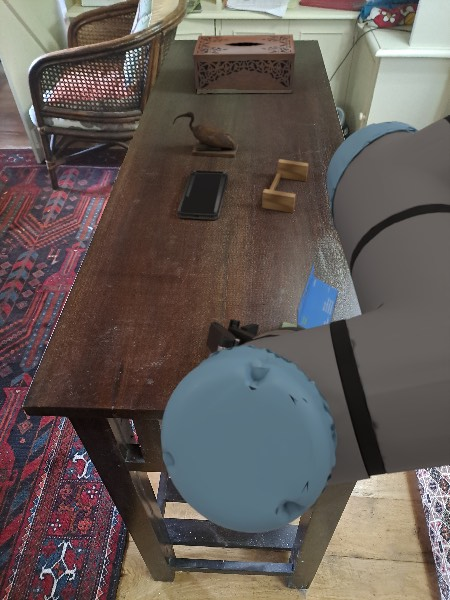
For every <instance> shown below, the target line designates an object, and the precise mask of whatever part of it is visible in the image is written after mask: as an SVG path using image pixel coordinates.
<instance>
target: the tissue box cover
mask: <svg viewBox="0 0 450 600" xmlns="http://www.w3.org/2000/svg"><path fill="white" fill-rule="evenodd" d="M192 54H193V55H192V57H193V58H192V59H193V70H194V84H195V90H196V89H201V90H203V89H206V90H208V89H210V90H212V89H236V90H292V91H293V85H294V73H295V61H296V50H295V41H294V34H290V33H289V34H288V33H287V34H229V35H228V34H227V35H226V34H224V35H221V34H219V35H198V37H197V41H196V44H195V47H194V50H193V53H192Z"/></svg>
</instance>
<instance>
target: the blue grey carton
mask: <svg viewBox="0 0 450 600" xmlns="http://www.w3.org/2000/svg"><path fill="white" fill-rule="evenodd" d="M314 272H315V262H312V266H311V268H310V272H309V274H308V276H307V280H306V282H305V285H304V289H303V291H302V294H301V298H300V300H299V302H298V306H297V310H296V323H297V324H296V325H297V327H298V328H302V329H308V328H312V327H316V326H321V325H325V324H329V323H330V322H333V319H334V314H335V309H336V303H337V299H338V294H339V291H338V289H336V288H335V287H332V286H331V285H329V284H328V283H326V282H324V281H322V280H320V279H319V278H317V277H316V276H314Z"/></svg>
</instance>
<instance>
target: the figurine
mask: <svg viewBox="0 0 450 600" xmlns="http://www.w3.org/2000/svg"><path fill="white" fill-rule="evenodd" d="M179 118H190V121H189V123H188V127H189V129H190V131H191V132H192V135H193V137H194V138H195V139H196V140H198V141H195V143H194V146H193V148H192V150H191V154H192V156H203V157H215V158H216V157H218V158H231V159H232V158H236V155H237V152H238V150H239V144H237V141H236V139H235V137H234V136H233V135H232V134H230V133H229V132H228V131H226V130H223V129H222V128H220V127H218V126H215V125H212V124H209V123H199V124H197V125H195V126H193V123H194V121H195V115H194V112H193V111H187V112H186V113H181V114H178V115H177V116H176V117H175V118H174V120H173V122H172V125H175V124H176V121H177V119H179Z"/></svg>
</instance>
